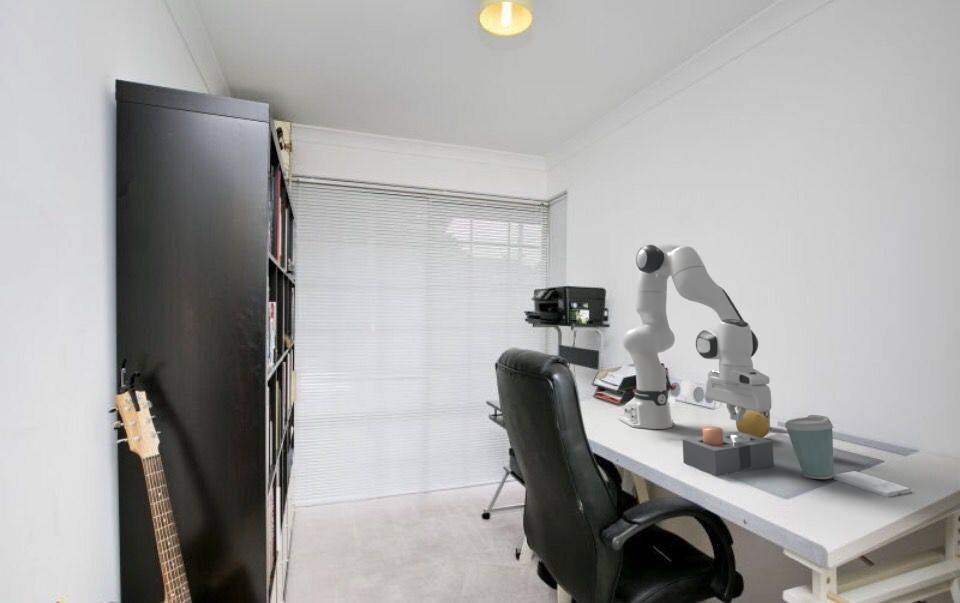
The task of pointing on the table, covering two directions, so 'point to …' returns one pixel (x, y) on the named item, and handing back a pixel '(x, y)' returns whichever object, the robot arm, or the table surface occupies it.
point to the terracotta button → (712, 436)
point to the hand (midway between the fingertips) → (736, 420)
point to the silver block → (740, 437)
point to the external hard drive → (871, 483)
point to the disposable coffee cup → (813, 445)
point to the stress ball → (753, 424)
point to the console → (728, 455)
